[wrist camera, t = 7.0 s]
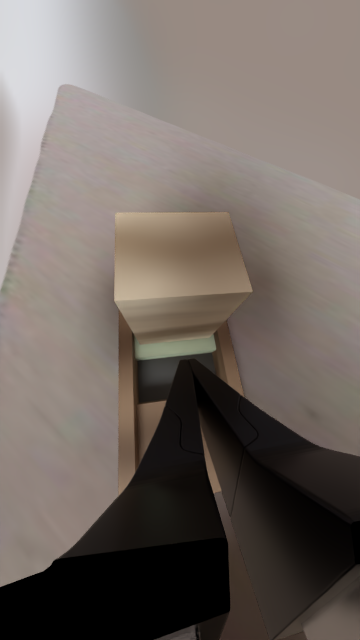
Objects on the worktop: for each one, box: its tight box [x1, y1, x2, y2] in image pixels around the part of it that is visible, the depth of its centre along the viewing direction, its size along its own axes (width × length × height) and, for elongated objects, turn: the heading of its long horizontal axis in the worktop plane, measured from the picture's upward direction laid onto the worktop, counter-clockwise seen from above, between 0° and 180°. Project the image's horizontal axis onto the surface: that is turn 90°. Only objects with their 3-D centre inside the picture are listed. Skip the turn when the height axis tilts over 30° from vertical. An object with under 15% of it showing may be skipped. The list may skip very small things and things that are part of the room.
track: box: [118, 310, 244, 496], centre depth 15 cm, size 20×9×3 cm, turn 7°
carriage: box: [114, 212, 253, 345], centre depth 12 cm, size 5×6×8 cm
